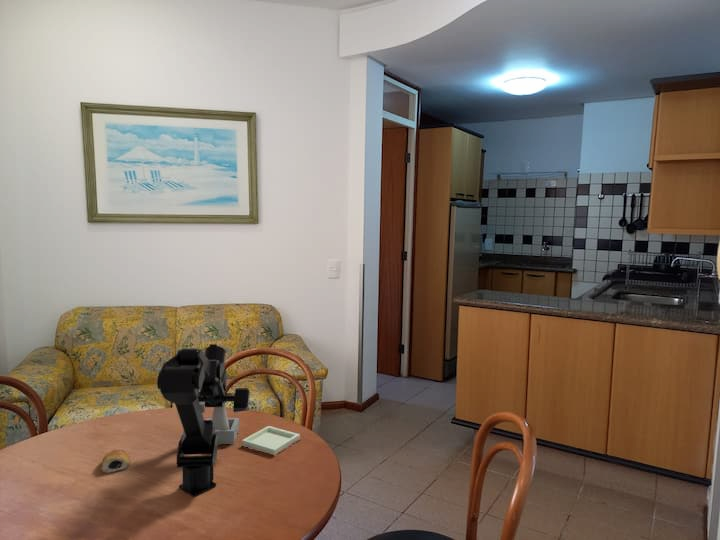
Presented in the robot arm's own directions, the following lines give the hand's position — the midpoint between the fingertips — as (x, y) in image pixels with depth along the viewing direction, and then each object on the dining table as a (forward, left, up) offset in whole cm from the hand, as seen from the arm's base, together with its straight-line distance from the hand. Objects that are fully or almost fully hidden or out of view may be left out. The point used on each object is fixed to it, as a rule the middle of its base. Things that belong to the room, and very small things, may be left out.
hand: (219, 411), depth 146 cm
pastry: (-28, +7, -9) cm, 30 cm away
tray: (+7, -15, -8) cm, 18 cm away
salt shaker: (0, 0, -8) cm, 8 cm away
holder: (0, 0, -8) cm, 8 cm away
